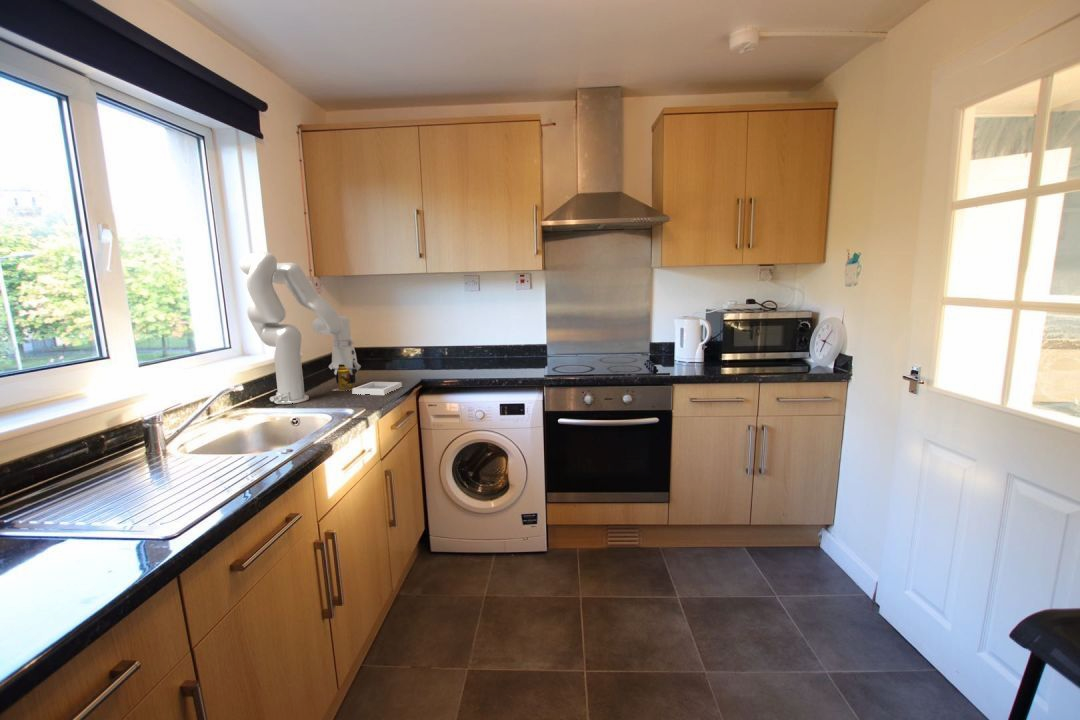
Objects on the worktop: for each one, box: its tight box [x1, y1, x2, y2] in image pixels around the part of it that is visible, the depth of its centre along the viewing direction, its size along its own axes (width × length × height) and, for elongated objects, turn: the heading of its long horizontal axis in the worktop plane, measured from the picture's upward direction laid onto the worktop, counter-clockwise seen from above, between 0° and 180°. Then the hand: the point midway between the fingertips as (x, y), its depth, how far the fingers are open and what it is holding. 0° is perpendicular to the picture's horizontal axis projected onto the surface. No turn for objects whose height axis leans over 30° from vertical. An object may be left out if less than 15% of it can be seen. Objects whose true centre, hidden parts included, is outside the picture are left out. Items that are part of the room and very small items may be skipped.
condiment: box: [331, 364, 356, 392], centre depth 211 cm, size 7×8×12 cm
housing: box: [351, 381, 403, 396], centre depth 206 cm, size 16×15×2 cm
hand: (346, 382), depth 211 cm, fingers closed on condiment, 6 cm apart
